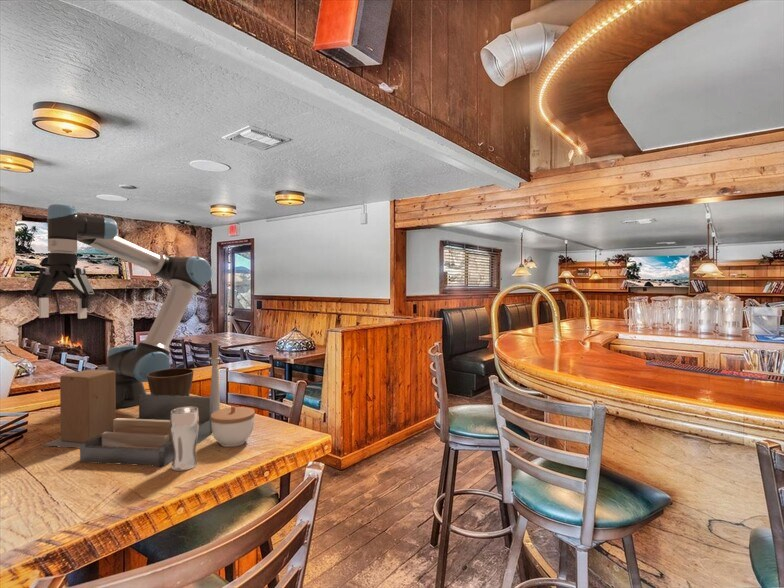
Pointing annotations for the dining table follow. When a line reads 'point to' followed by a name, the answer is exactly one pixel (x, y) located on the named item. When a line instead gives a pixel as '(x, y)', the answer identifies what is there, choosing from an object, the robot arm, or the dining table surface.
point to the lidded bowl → (232, 425)
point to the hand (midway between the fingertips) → (63, 318)
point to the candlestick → (215, 377)
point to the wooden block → (86, 404)
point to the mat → (62, 443)
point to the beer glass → (184, 437)
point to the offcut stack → (137, 433)
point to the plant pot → (171, 382)
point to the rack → (154, 410)
